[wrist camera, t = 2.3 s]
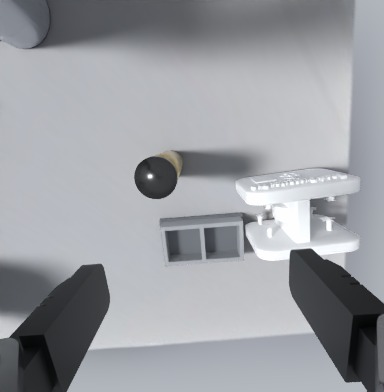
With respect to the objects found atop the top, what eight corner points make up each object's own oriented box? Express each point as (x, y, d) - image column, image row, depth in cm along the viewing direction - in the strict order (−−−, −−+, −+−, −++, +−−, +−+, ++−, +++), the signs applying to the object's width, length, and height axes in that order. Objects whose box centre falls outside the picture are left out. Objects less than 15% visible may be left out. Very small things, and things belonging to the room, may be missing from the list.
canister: (158, 177, 39) (137, 200, 24) (155, 151, 38) (131, 158, 23) (184, 175, 39) (179, 197, 24) (182, 148, 38) (174, 155, 23)
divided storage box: (165, 260, 43) (163, 270, 40) (160, 218, 41) (157, 226, 37) (242, 254, 42) (247, 264, 39) (241, 212, 40) (245, 219, 37)
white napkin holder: (238, 230, 41) (254, 265, 30) (232, 175, 39) (248, 190, 27) (319, 220, 41) (366, 251, 29) (319, 163, 38) (371, 173, 27)
